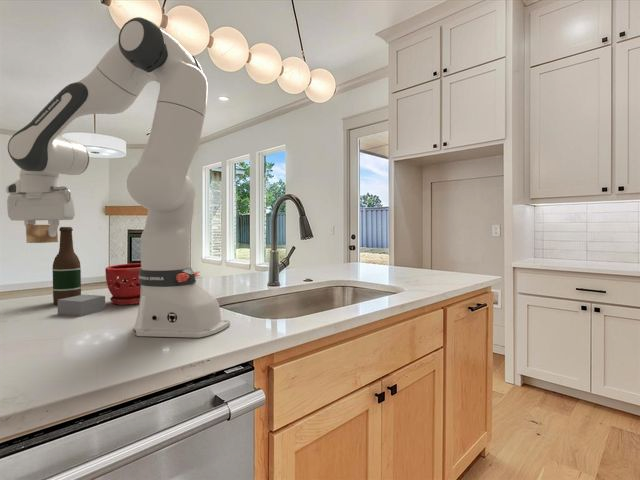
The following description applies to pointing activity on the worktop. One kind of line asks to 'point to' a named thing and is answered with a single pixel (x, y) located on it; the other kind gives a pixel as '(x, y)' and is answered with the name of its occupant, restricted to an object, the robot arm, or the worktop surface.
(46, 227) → the oak cube
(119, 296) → the plant pot
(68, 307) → the block
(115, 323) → the worktop surface
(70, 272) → the beer bottle
